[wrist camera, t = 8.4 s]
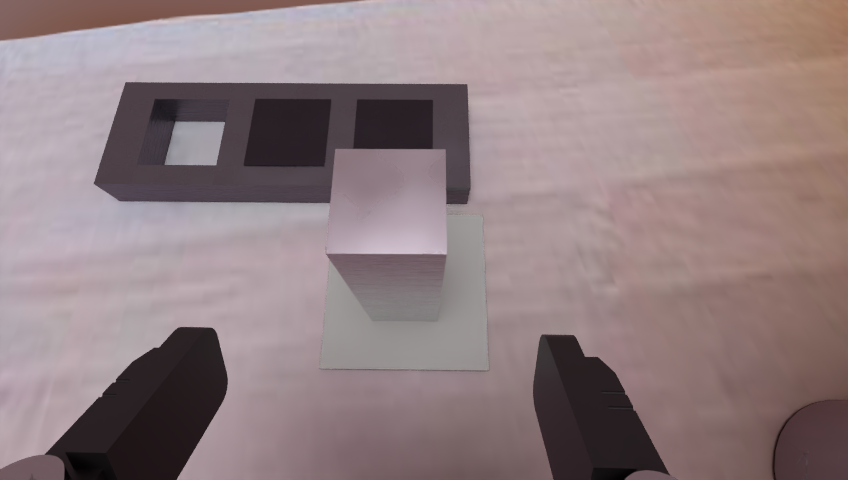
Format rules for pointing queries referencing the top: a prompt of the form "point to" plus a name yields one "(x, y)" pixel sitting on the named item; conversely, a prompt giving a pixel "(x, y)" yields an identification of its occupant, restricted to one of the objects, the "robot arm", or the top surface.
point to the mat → (411, 340)
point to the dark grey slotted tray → (277, 137)
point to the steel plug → (390, 230)
